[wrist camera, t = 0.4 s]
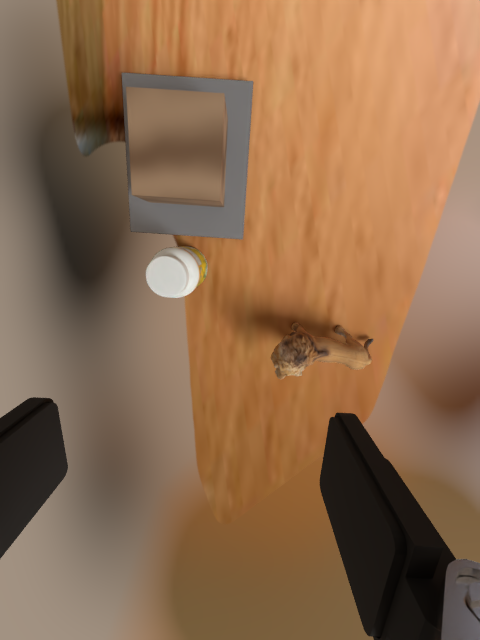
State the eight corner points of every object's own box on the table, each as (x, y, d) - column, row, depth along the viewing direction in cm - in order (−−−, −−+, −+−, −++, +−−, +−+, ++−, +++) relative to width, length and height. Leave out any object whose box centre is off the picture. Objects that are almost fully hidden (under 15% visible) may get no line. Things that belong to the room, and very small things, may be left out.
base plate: (125, 77, 28) (121, 72, 27) (252, 85, 28) (253, 81, 27) (133, 231, 32) (130, 231, 32) (242, 239, 32) (242, 239, 32)
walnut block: (146, 113, 28) (125, 86, 23) (227, 118, 28) (224, 93, 23) (149, 202, 31) (131, 194, 26) (224, 207, 31) (220, 200, 26)
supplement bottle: (187, 237, 33) (165, 235, 23) (216, 269, 34) (205, 278, 24) (159, 265, 34) (126, 274, 24) (188, 295, 35) (167, 314, 26)
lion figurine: (266, 356, 37) (273, 390, 29) (266, 321, 36) (273, 346, 27) (369, 354, 37) (406, 388, 28) (373, 319, 35) (415, 343, 27)
